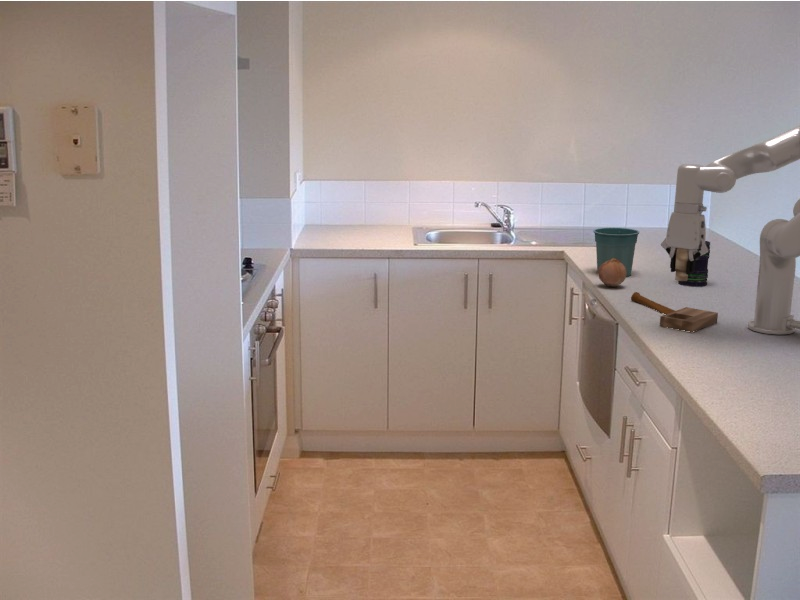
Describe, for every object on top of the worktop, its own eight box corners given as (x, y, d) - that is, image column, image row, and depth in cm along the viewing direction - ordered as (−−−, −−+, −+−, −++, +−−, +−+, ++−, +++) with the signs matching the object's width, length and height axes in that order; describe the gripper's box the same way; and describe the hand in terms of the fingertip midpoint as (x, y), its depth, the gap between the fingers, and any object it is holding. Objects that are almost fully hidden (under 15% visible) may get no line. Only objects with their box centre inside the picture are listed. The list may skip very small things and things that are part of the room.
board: (717, 322, 278) (718, 312, 277) (692, 332, 266) (693, 322, 265) (685, 316, 284) (686, 307, 284) (659, 326, 273) (660, 316, 272)
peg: (691, 280, 270) (694, 245, 268) (684, 282, 267) (687, 247, 265) (677, 277, 273) (681, 243, 270) (671, 279, 270) (674, 245, 267)
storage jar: (713, 284, 330) (716, 242, 326) (694, 288, 324) (698, 245, 321) (690, 279, 338) (693, 238, 334) (671, 282, 332) (674, 240, 329)
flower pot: (607, 280, 336) (609, 235, 332) (582, 271, 351) (584, 228, 347) (645, 277, 342) (649, 233, 338) (619, 268, 357) (622, 226, 353)
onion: (616, 283, 331) (618, 255, 328) (630, 289, 322) (632, 260, 320) (592, 285, 328) (593, 256, 325) (606, 290, 319) (608, 261, 317)
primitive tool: (679, 314, 289) (680, 303, 288) (665, 316, 286) (666, 305, 286) (638, 301, 306) (639, 291, 305) (624, 303, 303) (625, 292, 302)
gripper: (722, 211, 262) (715, 275, 267) (666, 204, 273) (661, 266, 278) (710, 213, 257) (703, 279, 261) (654, 206, 268) (648, 270, 272)
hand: (681, 272), depth 269 cm, fingers closed on peg, 4 cm apart
